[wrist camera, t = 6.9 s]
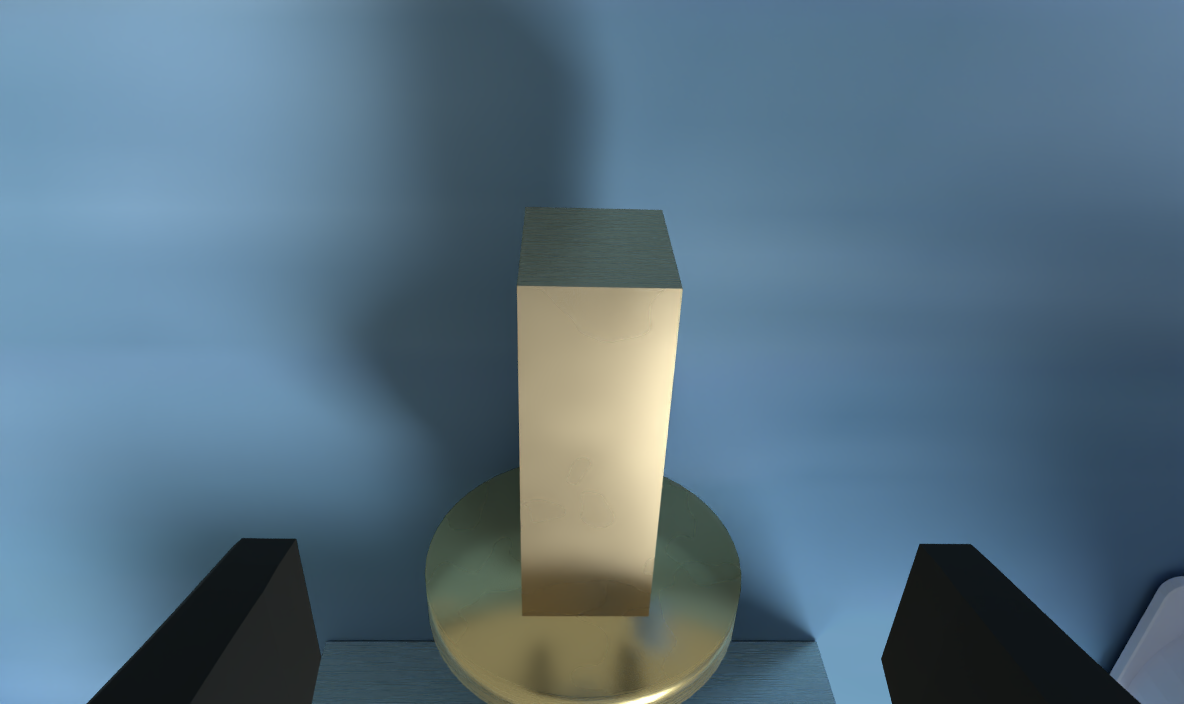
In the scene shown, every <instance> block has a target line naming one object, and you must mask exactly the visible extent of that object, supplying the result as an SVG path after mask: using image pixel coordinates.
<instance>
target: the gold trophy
mask: <svg viewBox="0 0 1184 704" xmlns="http://www.w3.org/2000/svg"><path fill="white" fill-rule="evenodd" d="M682 290H683V288H682V284H681V281H680V277H679V273H678V269H677V265H676V261H675V258H674V254H673V250H672V246H671V242H670V238H669V235H668V231H667V227H666V223H665V219H664V215H663V212H662V210H638V209H593V208H548V207H526V208H525V217H524V226H523V235H522V244H521V253H520V263H519V272H518V281H517V321H518V387H519V454H520V467H519V468H516V469H512V470H510V471H507V472H505V473H503V474H500V475H498V476H496V477H494V478H492V479H490V480H488V481H486V482H484V483H483V484H481V485H480V486H478V487H477V488H475V489H474V490H472V491H471V492H469V493H468V494H467V495H466V496H465V497H463V498H462V499H461V500H460V501H459V502H458V503H457V504H456V505H455V506H454V507H453V508H452V509H451V510H450V511H449V512H448V514H447V515H446V516H445V518H444V519H443V521H442V522H441V524H440V525H439V527H438V528H437V530H436V532H435V534H434V536H433V539H432V541H431V543H430V547H429V550H428V554H427V558H426V568H425V579H426V591H427V601H428V611H429V621H430V626H431V630H432V634H433V638H434V641H435V643H436V646H437V648H438V650H439V652H440V655H441V656H442V658H443V660H444V661H445V663H446V664H447V666H448V667H449V669H450V670H451V672H452V673H453V674H454V675H455V676H456V677H457V678H458V679H459V681H460V682H461V683H462V684H463V685H464V686H465V687H466V688H468V689H469V690H470V691H471V692H472V693H474V694H475V695H476V696H477V697H478V698H480V699H481V700H483V701H485V702H486V703H488V704H681V703H682V702H684V701H685V700H687V699H688V698H690V697H691V696H692V695H693V694H694V693H695V692H697V691H698V690H699V689H700V688H701V687H702V686H703V685H704V684H705V683H706V682H707V681H708V680H709V678H710V677H711V676H712V675H713V674H714V672H715V671H716V670H717V668H718V666H719V665H720V663H721V661H722V660H723V658H724V656H725V654H726V652H727V649H728V646H729V644H730V641H731V638H732V633H733V628H734V623H735V618H736V612H737V607H738V602H739V596H740V591H741V570H740V563H739V558H738V555H737V552H736V549H735V546H734V543H733V541H732V539H731V537H730V535H729V533H728V531H727V529H726V528H725V527H724V525H723V524H722V522H721V521H720V519H719V518H718V517H717V516H716V515H715V513H714V512H713V511H712V510H711V509H710V508H709V507H708V506H707V505H706V504H705V503H704V502H703V501H701V500H700V499H699V498H698V497H697V496H696V495H694V494H693V493H691V492H690V491H688V490H687V489H685V488H684V487H683V486H681V485H679V484H677V483H676V482H674V481H672V480H670V479H668V478H666V477H664V476H663V473H664V463H665V453H666V444H667V434H668V425H669V415H670V406H671V396H672V386H673V377H674V367H675V358H676V348H677V338H678V329H679V319H680V310H681V300H682Z"/></svg>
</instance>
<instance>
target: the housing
mask: <svg viewBox="0 0 1184 704" xmlns="http://www.w3.org/2000/svg"><path fill="white" fill-rule="evenodd" d="M312 704H488V703H486V702H485V701H483V700H481V699H480V698H478V697H477V696H476V695H475V694H474V693H472V692H471V691H470V690H469V689H468V688H466V687H465V686H464V685H463V684H462V683H461V682H460V681H459V679H458V678H457V677H456V676H455V675H454V674H453V673H452V672H451V670H450V669H449V667H448V666H447V664H446V663H445V661H444V660H443V658H442V656H441V655H440V652H439V650H438V648H437V646H436V643H435V642H326V644H325V647H324V651H323V654H322V657H321V661H320V666H319V671H318V675H317V680H316V685H315V690H314V695H313V700H312ZM681 704H836V702H835V699H834V696H833V693H832V690H831V686H830V683H829V680H828V677H827V674H826V670H825V667H824V664H823V661H822V658H821V654H820V651H819V648H818V645H817V642H730V644H729V646H728V649H727V652H726V654H725V656H724V658H723V660H722V661H721V663H720V665H719V666H718V668H717V670H716V671H715V672H714V674H713V675H712V676H711V677H710V678H709V680H708V681H707V682H706V683H705V684H704V685H703V686H702V687H701V688H700V689H699V690H698V691H697V692H695V693H694V694H693V695H692V696H691V697H690V698H688V699H687V700H685V701H684V702H682V703H681Z"/></svg>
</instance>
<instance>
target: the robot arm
mask: <svg viewBox="0 0 1184 704" xmlns="http://www.w3.org/2000/svg"><path fill="white" fill-rule="evenodd" d="M881 660H882V664H883V669H884V673H885V677H886V681H887V685H888V689H889V693H890V697H891V701H892V704H1184V576H1179V577H1174V578H1171V579H1168V580H1167V581H1165V582H1164V583H1162V585H1161V586H1160V587H1159V588H1158V590H1157V592H1156V594H1155V595H1154V597H1153V599H1152V601H1151V602H1150V604H1149V606H1148V608H1147V609H1146V611H1145V613H1144V615H1143V617H1142V618H1141V620H1140V622H1139V624H1138V625H1137V627H1136V629H1135V631H1134V632H1133V634H1132V636H1131V638H1130V639H1129V641H1128V643H1127V645H1126V646H1125V648H1124V650H1123V652H1122V653H1121V655H1120V657H1119V659H1118V660H1117V662H1116V664H1115V666H1114V667H1113V669H1112V671H1111V673H1110V674H1108V673H1107V672H1106V671H1105V670H1104V669H1103V668H1102V667H1101V666H1100V665H1099V664H1097V663H1096V662H1095V661H1094V660H1093V659H1092V658H1091V657H1090V656H1089V655H1088V654H1087V653H1086V652H1085V651H1084V650H1083V649H1081V648H1080V647H1079V646H1078V645H1077V644H1076V643H1075V642H1074V641H1073V640H1072V639H1071V638H1070V637H1069V636H1068V635H1067V634H1066V633H1065V632H1064V631H1062V630H1061V629H1060V628H1059V627H1058V626H1057V625H1056V624H1055V623H1054V622H1053V621H1052V620H1051V619H1050V618H1049V617H1048V616H1047V615H1046V614H1045V613H1044V612H1042V611H1041V610H1040V609H1039V608H1038V607H1037V606H1036V605H1035V604H1034V603H1033V602H1032V601H1031V600H1030V599H1029V598H1028V597H1027V596H1026V595H1025V594H1024V593H1023V592H1022V591H1021V590H1019V589H1018V588H1017V587H1016V586H1015V585H1014V584H1013V583H1012V582H1011V581H1010V580H1009V579H1008V578H1007V577H1006V576H1005V575H1004V574H1003V573H1002V572H1001V571H1000V570H998V569H997V568H996V567H995V566H994V565H993V564H992V563H991V562H990V561H989V560H988V559H987V558H986V557H984V556H983V555H982V554H981V553H980V552H979V551H978V550H977V549H976V548H975V547H973V546H972V545H971V544H919V547H918V550H917V553H916V556H915V559H914V562H913V565H912V568H911V571H910V574H909V577H908V580H907V583H906V586H905V589H904V592H903V595H902V598H901V601H900V604H899V607H898V610H897V613H896V616H895V619H894V622H893V625H892V628H891V631H890V634H889V637H888V640H887V643H886V646H885V649H884V652H883V655H882V658H881ZM320 661H321V654H320V650H319V645H318V640H317V635H316V631H315V626H314V621H313V616H312V612H311V607H310V602H309V597H308V593H307V588H306V583H305V578H304V574H303V569H302V564H301V559H300V555H299V550H298V545H297V540H296V539H257V538H242V539H241V540H240V541H239V542H237V543H236V544H235V545H234V546H233V547H232V548H231V549H230V550H229V551H228V553H227V554H226V555H225V556H224V557H223V558H222V559H221V560H220V561H219V562H218V563H217V565H216V566H215V567H214V568H213V569H212V570H211V571H210V572H209V573H208V575H207V576H206V577H205V578H204V579H203V580H202V581H201V582H200V583H199V585H198V586H197V587H196V588H195V589H194V590H193V591H192V592H191V593H190V594H189V596H188V597H187V598H186V599H185V600H184V601H183V602H182V603H181V604H180V605H179V607H178V608H177V609H176V610H175V611H174V612H173V613H172V614H171V615H170V616H169V617H168V619H167V620H166V621H165V622H164V623H163V624H162V625H161V626H160V627H159V628H158V629H157V630H156V632H155V633H154V634H153V635H152V636H151V637H150V638H149V639H148V640H147V641H146V642H145V643H144V644H143V646H142V647H141V648H140V649H139V650H138V651H137V652H136V653H135V654H134V655H133V656H132V657H131V658H130V659H129V660H128V661H127V662H126V663H125V664H124V665H123V666H122V667H121V668H120V669H119V671H118V672H117V673H116V674H115V675H114V676H113V677H112V678H111V679H110V680H109V681H108V682H107V683H106V684H105V685H104V686H103V687H102V688H101V689H100V690H99V691H98V692H97V693H96V694H95V695H94V697H93V698H92V699H91V700H90V701H89V702H88V703H87V704H312V700H313V695H314V690H315V685H316V680H317V675H318V671H319V666H320Z"/></svg>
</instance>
